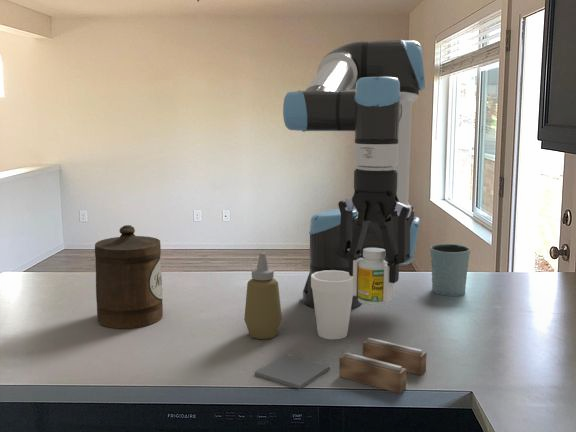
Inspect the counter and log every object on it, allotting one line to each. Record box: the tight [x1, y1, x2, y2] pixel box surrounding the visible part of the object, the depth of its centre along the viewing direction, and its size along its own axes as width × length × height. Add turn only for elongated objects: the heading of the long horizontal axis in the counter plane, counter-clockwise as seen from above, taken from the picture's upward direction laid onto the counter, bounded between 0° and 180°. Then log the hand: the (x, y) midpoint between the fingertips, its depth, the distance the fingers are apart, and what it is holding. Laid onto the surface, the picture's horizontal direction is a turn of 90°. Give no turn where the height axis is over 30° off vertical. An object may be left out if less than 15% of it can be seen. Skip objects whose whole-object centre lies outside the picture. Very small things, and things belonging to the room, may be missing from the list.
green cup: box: [429, 243, 471, 297], centre depth 162 cm, size 10×10×12 cm
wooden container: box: [94, 224, 164, 330], centre depth 141 cm, size 15×15×22 cm
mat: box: [254, 353, 331, 389], centre depth 113 cm, size 10×10×1 cm
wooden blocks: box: [338, 337, 428, 394], centre depth 112 cm, size 12×11×4 cm
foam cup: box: [311, 270, 353, 340], centre depth 131 cm, size 10×9×13 cm
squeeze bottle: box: [243, 252, 283, 340], centre depth 130 cm, size 8×8×18 cm
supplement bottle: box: [358, 248, 387, 306], centre depth 109 cm, size 5×5×10 cm
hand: (372, 296), depth 110 cm, fingers closed on supplement bottle, 5 cm apart
